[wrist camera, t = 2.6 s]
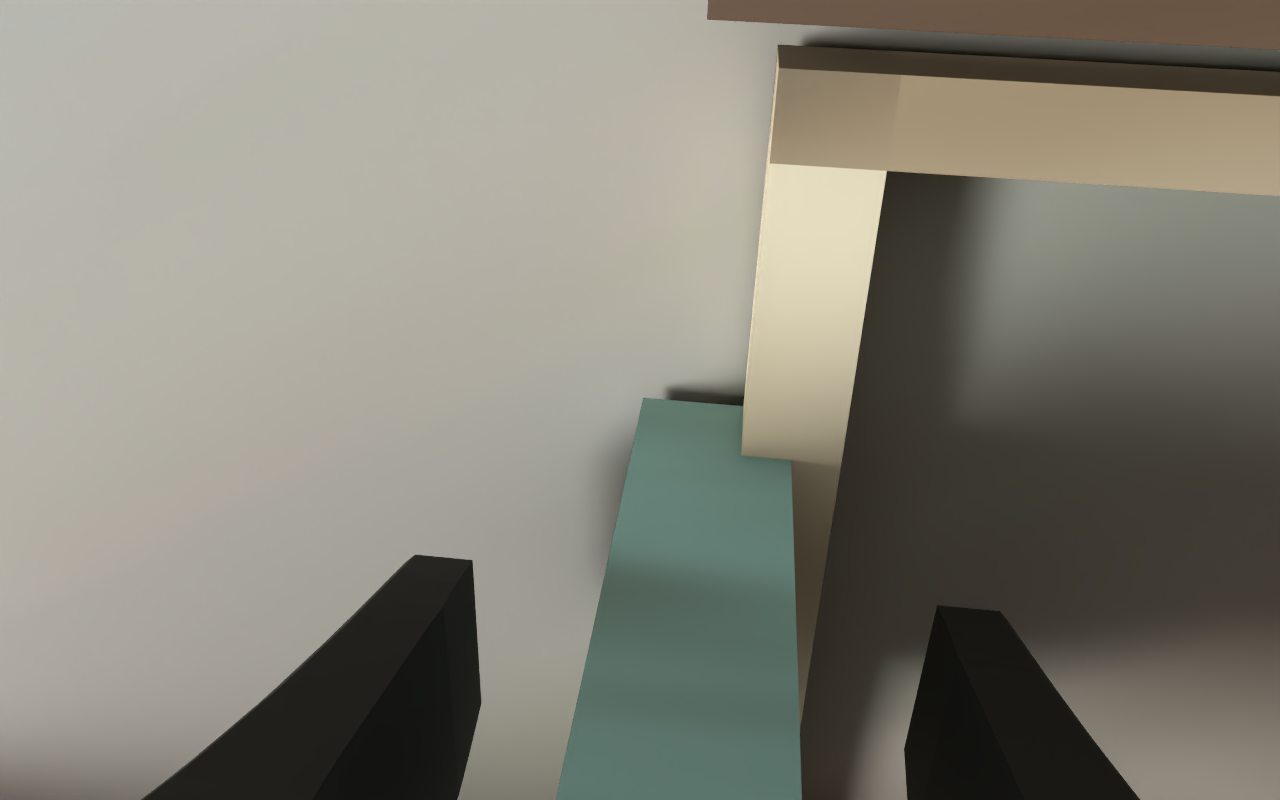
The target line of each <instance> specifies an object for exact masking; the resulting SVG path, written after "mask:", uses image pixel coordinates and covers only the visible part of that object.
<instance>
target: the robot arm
mask: <svg viewBox="0 0 1280 800" xmlns="http://www.w3.org/2000/svg"><path fill="white" fill-rule="evenodd" d="M480 706H481V691H480V675H479V659H478V643H477V627H476V611H475V595H474V578H473V562H472V560H464V559H454V558H443V557H433V556H423V555H414V556H413V557H412V558H411V559H409V560H408V561H407V562H406V563H405V564H404V565H403V566H402V567H401V568H400V569H399V570H398V571H397V572H396V573H394V574H393V575H392V576H391V577H390V578H389V580H388V581H387V582H386V583H385V584H384V585H383V586H382V587H381V588H380V589H379V590H378V591H377V592H376V593H375V594H374V595H373V596H372V597H371V598H370V599H369V600H368V601H367V602H366V603H365V604H364V605H363V606H362V607H361V608H360V609H359V610H358V611H357V612H356V613H355V614H354V615H353V616H352V617H351V618H350V619H348V620H347V621H346V622H345V623H344V624H343V625H342V626H341V627H340V628H339V629H338V630H337V631H336V632H335V633H334V634H333V635H332V636H331V637H330V638H329V639H328V640H327V641H326V642H325V643H324V644H323V645H322V646H321V647H320V648H319V649H317V650H316V651H315V652H314V653H313V654H312V655H311V656H310V657H309V658H308V659H307V660H306V661H305V662H303V663H302V664H301V665H300V666H299V667H298V668H297V669H296V670H295V671H294V672H293V673H292V674H291V675H289V676H288V677H287V678H286V679H285V680H284V681H283V682H282V683H281V684H280V685H279V686H278V687H277V688H276V689H274V690H273V691H272V692H271V693H270V694H269V695H268V696H267V697H266V698H264V699H263V700H262V701H261V702H260V703H259V704H258V705H257V706H255V707H254V708H253V709H252V710H251V711H249V712H248V713H247V714H246V715H245V716H244V717H242V718H241V719H240V720H239V721H238V722H236V723H235V724H234V725H233V726H232V727H231V728H229V729H228V730H227V731H226V732H225V733H223V734H222V735H221V736H220V737H219V738H218V739H216V740H215V741H214V742H213V743H212V744H210V745H209V746H208V747H207V748H206V749H205V750H203V751H202V752H201V753H200V754H199V755H198V756H196V757H195V758H194V759H193V760H191V761H190V762H189V763H188V764H186V765H185V766H184V767H183V768H181V769H180V770H179V771H178V772H176V773H175V774H174V775H173V776H171V777H170V778H169V779H167V780H166V781H165V782H164V783H162V784H161V785H160V786H159V787H157V788H156V789H155V790H153V791H152V792H151V793H149V794H148V795H147V796H145V797H144V798H143V799H142V800H457V798H458V795H459V792H460V788H461V784H462V780H463V776H464V772H465V768H466V764H467V761H468V757H469V753H470V748H471V744H472V740H473V736H474V732H475V727H476V723H477V719H478V715H479V711H480ZM904 752H905V768H906V784H907V799H908V800H1140V799H1139V798H1138V797H1137V795H1136V794H1135V793H1134V791H1133V790H1132V789H1131V788H1130V786H1129V785H1128V784H1127V782H1126V781H1125V780H1124V779H1123V777H1122V776H1121V775H1120V774H1119V772H1118V771H1117V770H1116V768H1115V767H1114V766H1113V765H1112V763H1111V762H1110V761H1109V760H1108V758H1107V757H1106V756H1105V754H1104V753H1103V752H1102V751H1101V749H1100V748H1099V747H1098V745H1097V744H1096V743H1095V741H1094V740H1093V739H1092V737H1091V736H1090V735H1089V733H1088V732H1087V731H1086V729H1085V728H1084V727H1083V725H1082V724H1081V723H1080V721H1079V720H1078V719H1077V717H1076V716H1075V715H1074V713H1073V712H1072V710H1071V709H1070V708H1069V706H1068V705H1067V704H1066V702H1065V701H1064V700H1063V698H1062V697H1061V695H1060V694H1059V693H1058V691H1057V690H1056V689H1055V687H1054V686H1053V684H1052V683H1051V682H1050V680H1049V679H1048V677H1047V676H1046V674H1045V673H1044V672H1043V670H1042V669H1041V667H1040V666H1039V665H1038V663H1037V662H1036V660H1035V659H1034V658H1033V656H1032V655H1031V653H1030V652H1029V650H1028V649H1027V648H1026V646H1025V645H1024V643H1023V642H1022V640H1021V639H1020V638H1019V636H1018V635H1017V633H1016V632H1015V630H1014V629H1013V628H1012V626H1011V625H1010V623H1009V622H1008V621H1007V620H1006V618H1005V617H1004V616H1003V615H1002V613H1001V612H1000V611H991V610H981V609H971V608H960V607H950V606H940V605H937V609H936V613H935V617H934V622H933V626H932V630H931V635H930V639H929V643H928V648H927V652H926V657H925V661H924V665H923V670H922V674H921V678H920V683H919V687H918V691H917V696H916V700H915V704H914V709H913V713H912V717H911V722H910V726H909V730H908V735H907V739H906V743H905V748H904Z"/></svg>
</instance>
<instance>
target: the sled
mask: <svg viewBox="0 0 1280 800" xmlns="http://www.w3.org/2000/svg"><path fill="white" fill-rule="evenodd" d="M887 171H896V172H912V173H927V174H943V175H958V176H974V177H990V178H1005V179H1021V180H1037V181H1052V182H1068V183H1084V184H1099V185H1115V186H1130V187H1146V188H1162V189H1177V190H1193V191H1209V192H1224V193H1240V194H1256V195H1271V196H1280V72H1267V71H1249V70H1230V69H1212V68H1194V67H1176V66H1157V65H1139V64H1121V63H1103V62H1084V61H1066V60H1048V59H1030V58H1011V57H993V56H975V55H957V54H938V53H920V52H902V51H884V50H865V49H847V48H829V47H811V46H792V45H778V49H777V60H776V70H775V81H774V91H773V102H772V112H771V123H770V133H769V143H768V154H767V164H766V175H765V185H764V196H763V206H762V217H761V227H760V238H759V248H758V259H757V269H756V280H755V290H754V301H753V311H752V322H751V332H750V343H749V353H748V364H747V374H746V385H745V395H744V405H743V406H735V405H723V404H711V403H699V402H687V401H675V400H663V399H651V398H643V402H642V406H641V411H640V416H639V420H638V425H637V429H636V434H635V439H634V443H633V448H632V452H631V457H630V462H629V466H628V471H627V475H626V480H625V484H624V489H623V494H622V498H621V503H620V507H619V512H618V517H617V521H616V526H615V530H614V535H613V539H612V544H611V549H610V553H609V558H608V562H607V567H606V572H605V576H604V581H603V585H602V590H601V595H600V599H599V604H598V608H597V613H596V617H595V622H594V627H593V631H592V636H591V640H590V645H589V650H588V654H587V659H586V663H585V668H584V672H583V677H582V682H581V686H580V691H579V695H578V700H577V705H576V709H575V714H574V718H573V723H572V727H571V732H570V737H569V741H568V746H567V750H566V755H565V760H564V764H563V769H562V773H561V778H560V783H559V787H558V792H557V796H556V800H802V785H801V754H800V726H801V720H802V714H803V707H804V701H805V694H806V688H807V681H808V675H809V669H810V662H811V656H812V649H813V643H814V636H815V630H816V624H817V617H818V611H819V604H820V598H821V591H822V585H823V578H824V572H825V566H826V559H827V553H828V546H829V540H830V533H831V527H832V521H833V514H834V508H835V501H836V495H837V488H838V482H839V476H840V469H841V463H842V456H843V450H844V443H845V437H846V430H847V424H848V418H849V411H850V405H851V398H852V392H853V385H854V379H855V373H856V366H857V360H858V353H859V347H860V340H861V334H862V328H863V321H864V315H865V308H866V302H867V295H868V289H869V282H870V276H871V270H872V263H873V257H874V250H875V244H876V237H877V231H878V225H879V218H880V212H881V205H882V199H883V192H884V186H885V180H886V173H887Z"/></svg>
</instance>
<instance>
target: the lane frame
mask: <svg viewBox="0 0 1280 800" xmlns="http://www.w3.org/2000/svg"><path fill="white" fill-rule="evenodd" d="M707 19H708V20H727V21H746V22H765V23H783V24H802V25H821V26H840V27H859V28H878V29H896V30H915V31H934V32H953V33H972V34H991V35H1009V36H1028V37H1047V38H1066V39H1085V40H1103V41H1122V42H1141V43H1160V44H1179V45H1198V46H1216V47H1235V48H1254V49H1273V50H1280V0H708V14H707Z"/></svg>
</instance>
